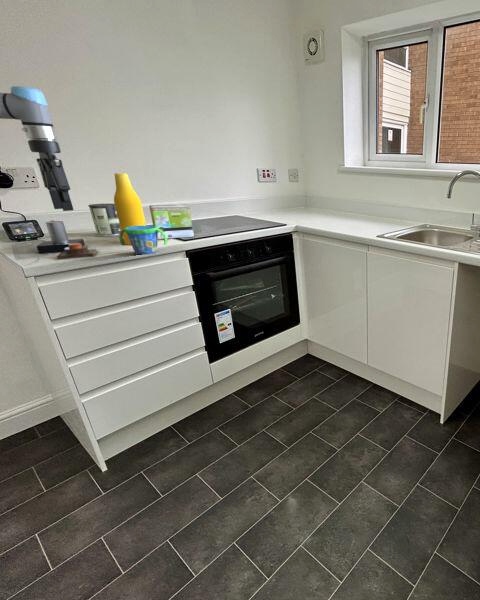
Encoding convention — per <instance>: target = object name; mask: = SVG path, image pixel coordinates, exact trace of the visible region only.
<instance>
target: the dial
mask: <svg viewBox="0 0 480 600" xmlns="http://www.w3.org/2000/svg"><path fill="white" fill-rule="evenodd" d="M45 226H46V228H47V231H48V234H49V237H50V241H52V243H66V242H69V240H70V238H69V236H68V233H67V230H66V226H65V223H64V221H63V220H53V219H51V220H48V221H45Z"/></svg>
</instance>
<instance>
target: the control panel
mask: <svg viewBox="0 0 480 600" xmlns="http://www.w3.org/2000/svg"><path fill="white" fill-rule="evenodd" d="M73 243H81V245H82V246H86V242H85V240H84V238H74V239H69V242H66V243H52V241H51V240H43V241H42V242H40V243H38V245H36V249H37V250H36V251H37V253H38V254H40V255H41V254H57V253H61V252H63V251H64V248H67V247H69V244H73Z"/></svg>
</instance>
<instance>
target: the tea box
mask: <svg viewBox="0 0 480 600" xmlns="http://www.w3.org/2000/svg"><path fill="white" fill-rule="evenodd" d="M148 207H149V212H150V217H151V221H152V226H156V227H157V228H158V229H161V230H162V231H163V232H164V233H165V235H166V237H167V239H180V238H182V239H183V238H194V228H193V221H192V216H191V211H190V206H189V205H187V204H151V205H149V206H148ZM157 239H158V241H159V240H164V236H163V235H162V234H161V233H160V232H159V231H158V235H157Z"/></svg>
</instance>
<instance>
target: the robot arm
mask: <svg viewBox="0 0 480 600" xmlns="http://www.w3.org/2000/svg"><path fill="white" fill-rule="evenodd" d="M47 103H48V102H47V100H46V97H45V95H44V93H43V92H42V91H41V89H38V88H34V87H30V86H29V87H28V86H22V85H21V86H20V85H19V86H15V85H13V86H11V87H10V92H0V119H2V120H19V121H20V122H21V125H22V128H21V131H22V132H24V134H25V137H26V138H27V139H29V140H27V144H28V148H29V150H30V152H32V153H38V156H39V157H38V158H36V162H37V165H38V167H39V171H40V175H41V178H42V183H43V185H44V188H45V189H47V190H48V193H49V196H50V199H51V203H52V205H53V209H54V210H62V211H63V212H71V211H72V212H73V211H75V210H74V207H73V203H72V200H71V197H70V193H69V191H70V190H71V186H70V184H69V181H68V178H67V175H66V172H65V168H64V166H63V161H62V159H58V158H57V155H56V154H61V150H62V149H61V148H60V143H59V142H58V141H57V140H58V136H57V133H56V130H55V126H54V125H53V121H52V117H51V113H50V109H49V104H47Z"/></svg>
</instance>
